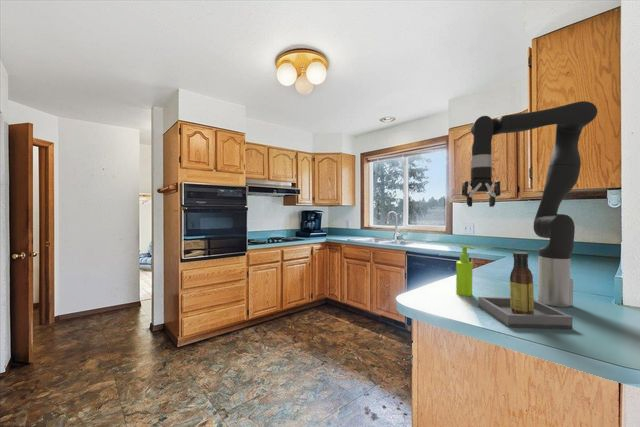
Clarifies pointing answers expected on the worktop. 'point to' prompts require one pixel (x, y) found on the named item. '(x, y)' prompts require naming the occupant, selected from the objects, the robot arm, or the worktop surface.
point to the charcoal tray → (539, 319)
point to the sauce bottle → (521, 285)
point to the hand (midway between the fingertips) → (480, 206)
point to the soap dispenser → (464, 273)
